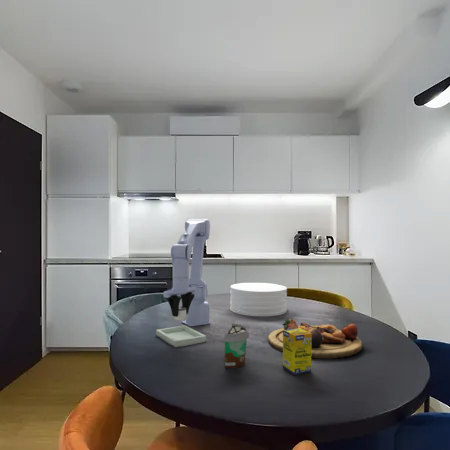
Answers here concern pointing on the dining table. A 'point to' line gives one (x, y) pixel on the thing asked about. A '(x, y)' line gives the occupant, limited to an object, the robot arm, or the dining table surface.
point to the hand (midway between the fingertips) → (180, 314)
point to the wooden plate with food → (323, 339)
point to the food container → (235, 346)
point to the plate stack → (258, 299)
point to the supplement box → (297, 351)
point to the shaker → (181, 313)
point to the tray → (180, 336)
